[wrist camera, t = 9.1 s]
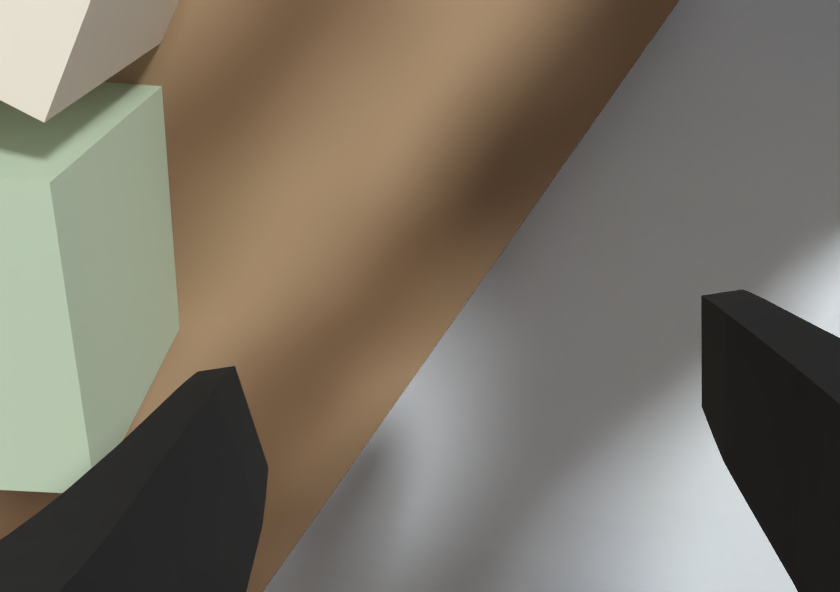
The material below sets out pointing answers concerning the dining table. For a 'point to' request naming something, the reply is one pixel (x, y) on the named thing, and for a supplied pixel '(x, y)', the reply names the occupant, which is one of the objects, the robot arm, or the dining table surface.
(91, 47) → the cream carton
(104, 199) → the sage carton
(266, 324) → the shelf board
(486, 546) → the dining table surface
